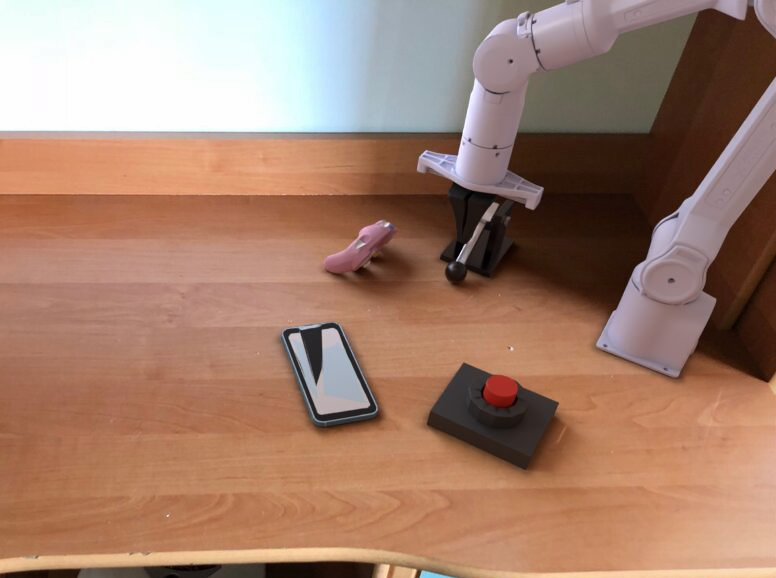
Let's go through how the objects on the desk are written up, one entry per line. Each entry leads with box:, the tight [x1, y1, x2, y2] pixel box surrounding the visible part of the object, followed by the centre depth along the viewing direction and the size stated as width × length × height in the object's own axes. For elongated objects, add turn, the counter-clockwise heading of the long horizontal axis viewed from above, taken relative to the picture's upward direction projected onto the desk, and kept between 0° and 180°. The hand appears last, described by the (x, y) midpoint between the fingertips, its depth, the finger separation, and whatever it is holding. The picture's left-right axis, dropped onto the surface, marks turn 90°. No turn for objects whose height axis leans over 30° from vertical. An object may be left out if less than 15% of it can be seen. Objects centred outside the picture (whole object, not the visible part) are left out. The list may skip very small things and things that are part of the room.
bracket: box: [439, 199, 515, 279], centre depth 104 cm, size 9×7×8 cm
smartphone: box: [280, 321, 379, 428], centre depth 89 cm, size 7×1×15 cm
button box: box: [426, 361, 560, 471], centre depth 84 cm, size 11×9×4 cm
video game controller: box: [323, 219, 398, 274], centre depth 103 cm, size 10×5×7 cm, turn 143°
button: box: [483, 374, 518, 408], centre depth 82 cm, size 3×3×2 cm
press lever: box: [444, 201, 500, 284], centre depth 102 cm, size 12×3×3 cm, turn 148°
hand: (464, 238), depth 97 cm, fingers closed
